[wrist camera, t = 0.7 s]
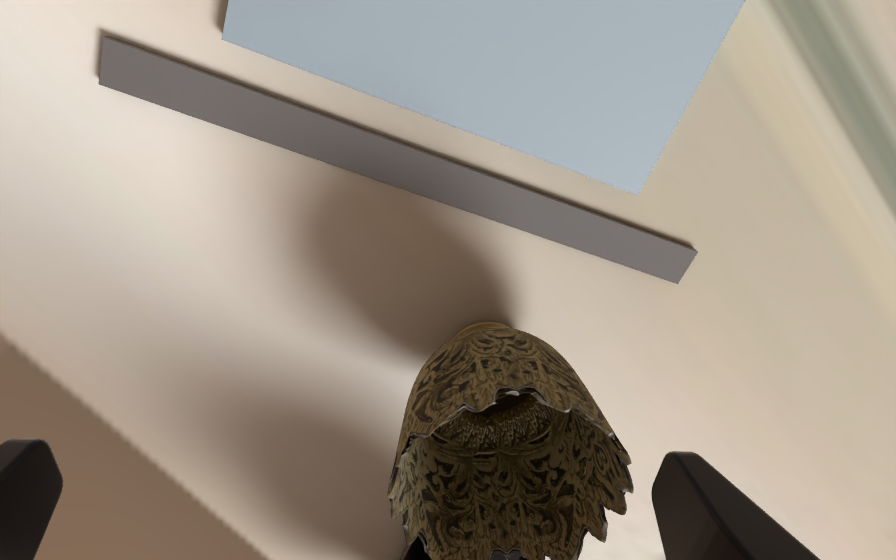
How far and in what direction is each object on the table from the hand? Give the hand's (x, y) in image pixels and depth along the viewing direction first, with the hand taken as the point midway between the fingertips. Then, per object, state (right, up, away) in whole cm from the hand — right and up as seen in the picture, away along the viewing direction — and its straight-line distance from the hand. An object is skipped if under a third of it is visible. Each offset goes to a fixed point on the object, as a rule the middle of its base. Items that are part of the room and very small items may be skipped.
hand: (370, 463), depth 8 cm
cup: (+3, 0, +16) cm, 16 cm away
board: (+3, +12, +9) cm, 15 cm away
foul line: (0, +7, +12) cm, 14 cm away
